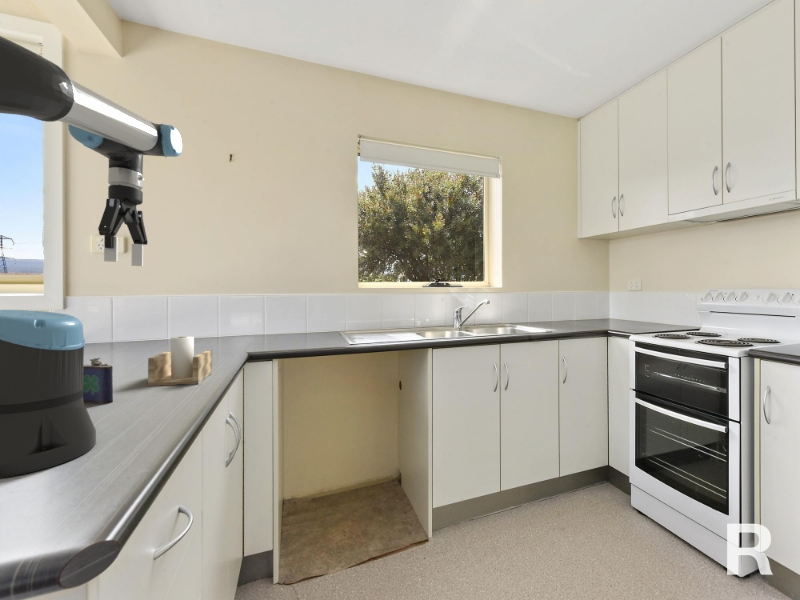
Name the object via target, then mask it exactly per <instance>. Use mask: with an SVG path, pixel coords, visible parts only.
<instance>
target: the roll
mask: <svg viewBox="0 0 800 600" xmlns="http://www.w3.org/2000/svg"><path fill="white" fill-rule="evenodd" d="M170 351H171V378H187V377H191V376H193V357H194V356H195V336H175V337H171V338H170Z"/></svg>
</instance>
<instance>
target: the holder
mask: <svg viewBox="0 0 800 600" xmlns="http://www.w3.org/2000/svg"><path fill="white" fill-rule="evenodd" d="M147 359H148V360H147V387H155V386H156V387H158V386H160V385H163V386H177V385H176V384H189V385H197V384H196V383H199V382H200V381H201V380H203V379H204V378H205V377H206V376H207V375H208V374H210V373H211V372H212V373H213V349H209V350H208V349H207V350H205V351H203V352H201V353H198V354H196V355H194V357H193V376H191V377H187V378H171V350H167V351H164V352H161V353H159V354H155V355H153V356H150V357H148V358H147ZM204 380H205V379H204ZM204 380H203V381H204ZM200 383H201V382H200ZM200 383H199V384H200Z"/></svg>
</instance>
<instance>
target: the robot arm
mask: <svg viewBox="0 0 800 600" xmlns="http://www.w3.org/2000/svg"><path fill="white" fill-rule="evenodd" d="M0 114H6V115H16V116H17V115H19V116H23V117H29V118H32V119H35V120H38V121H42V122H47V123H52V122H54V123H55V122H61V123H64V124H67V126H68V132H69V134H70V135H71V137H73V139H74V140H76V142H78V143H80V144H82V145H83V146H84V147H86V148H88V149H89V150H92V151H94V152H96V153H98V154H100V155H102V156H103V157H105V158H107V159H108V172H107V173H108V176H107V177H108V178H107V181H108V185H109V186H108V187H107V189H108V190H107V191H108V192H107V195H108V196H107V197H108V198H106V201H105V208H104V211H103V213H102V216H101V219H100V222H99V225H98V228H97V229H98V234H99V236H104V240H103V241H104V242H103V243H104V244H103V245H104V246H103V248H104V249H103V260H104V262H107V263H109V262H110V263H111V262H114V263H118V262H119V237H118V236H117V234H118V232H119V230H120V228H122V225H123V223H124V225H126V226H127V230H128V231H129V234H130V236H131V240H132V242H133V243H131V267H144V246H146V245H148V238H147V237H148V236H147V233H146V228H145V223H144V215H143V214H144V213H143V210H137V206H139V205H142V204H143V201H144V200H143V199H144V198H143V196H144V192H143V191H142V189H143V186H144V185H143V181H145V178H144V177H143V176H144V172H143V171H144V170H143V169H144V167H143V166H144V156H150V157H151V156H152V157H164V158H167V157H168V158H169V157H171V158H174V157H179V156H180V155H181V154H182V151H183V140H182V136H181V133H180V132H179V130H178V129H177V128H176V127H175V126H174V125H172V124H171V125H169V124H165V123H160V124H159V123H154V122H152V121H150V120H148V119H146V118H144V117H143V116H141V115H138V114H137V113H135V112H133V111H131V110H129V109H127V108H126V107H123V106H122V105H119V104H118V103H116V102H114V101H112V100H110V99H109V98H106V97H105V96H103V95H102V94H99V93H97V92H95V91H93V90H91V89H90V88H88V87H86V86H84V85H82V84H80V83H78V82H77V81H75V80H73V79H72V78H70V76H69V75H68V74H67V73H66V71H65V70H64V69H63V68H61V66H59V65H57V64H55V63H54V62H52V61H51V60H48V59H47V58H45V57H43V56H41V55H40V54H38V53H37V52H36V53H35V52H34V51H32V50H30V49H28V48H26V47H24V46H22V45H20V44H18V43H16V42H15V41H12V40H9V39H8V38H5V37H3V36H1V35H0ZM83 325H84V324H83V322H82V321H81V320H80V319H79V318H78V317H76V316H75V315H71V314H66V313H62V312H55V311H54V312H52V311H44V310H42V311H41V310H24V309H0V479H1V478H8V477H13V476H19V475H24V474H28V473H29V474H30V473H33V472H37V471H40V470H44V469H48V468H52V467H55V466H57V465H60V464H64V463H66V462H69V461H72V460H74V459H76V458H78V457H80V456H83V455H84V454H86V453H88V452H89V451H90V450H92V449H93V448H94V447H95V446H96V445H97V430H96V428H95V425H94V422H93V420H92V418H91V416H90V414H89V412H88V409H87V407H86V405H85V403H84V402H83V365H84V361H85V360H84V358H85V357H84V354H85V345H86V340H85V337H84V326H83Z"/></svg>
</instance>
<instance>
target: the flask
mask: <svg viewBox="0 0 800 600" xmlns="http://www.w3.org/2000/svg"><path fill="white" fill-rule="evenodd" d="M100 359H101V357H95V358H90V359H89V361H90V364H89V363H86V364H83V402H84V404H98V405H99V404H100V405H107V404H109V405H110V404H112V403H113V402H114V392H113V391H114V389H113V387H114V386H113V383H114V381H113V368H114V367H113V365H111V364H108V363H106V362H105V363H103V362H102V361H99V360H100Z"/></svg>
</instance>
